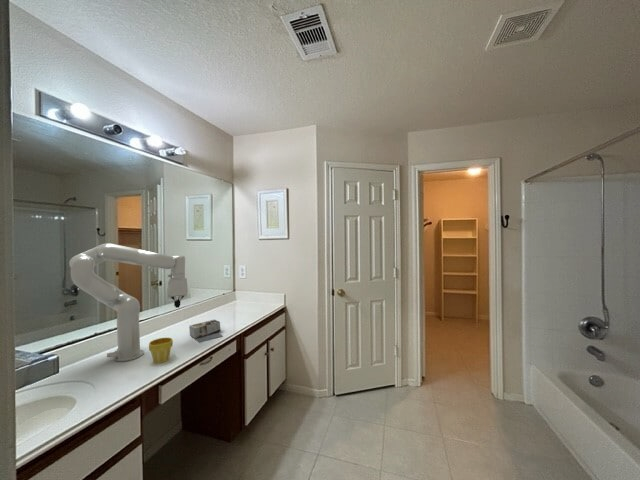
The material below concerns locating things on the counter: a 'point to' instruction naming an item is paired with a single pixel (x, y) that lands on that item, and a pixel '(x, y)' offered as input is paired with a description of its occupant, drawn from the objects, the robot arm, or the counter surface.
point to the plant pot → (160, 349)
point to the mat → (209, 337)
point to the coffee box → (204, 328)
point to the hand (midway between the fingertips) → (177, 307)
